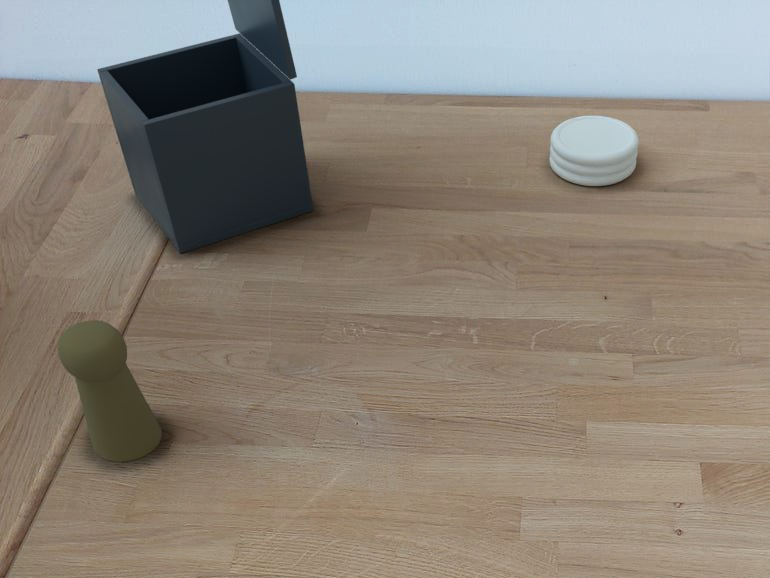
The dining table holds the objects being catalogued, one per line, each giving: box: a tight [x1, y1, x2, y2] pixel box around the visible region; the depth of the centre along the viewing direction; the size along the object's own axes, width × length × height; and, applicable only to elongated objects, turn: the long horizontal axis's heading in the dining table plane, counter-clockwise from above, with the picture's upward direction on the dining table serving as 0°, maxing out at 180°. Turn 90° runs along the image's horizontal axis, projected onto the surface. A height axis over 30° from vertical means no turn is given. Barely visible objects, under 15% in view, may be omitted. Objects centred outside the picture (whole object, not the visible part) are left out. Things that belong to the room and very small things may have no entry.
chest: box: [96, 32, 314, 254], centre depth 102 cm, size 16×14×13 cm
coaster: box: [549, 115, 640, 187], centre depth 110 cm, size 10×10×4 cm
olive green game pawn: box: [57, 319, 163, 463], centre depth 80 cm, size 6×6×11 cm
